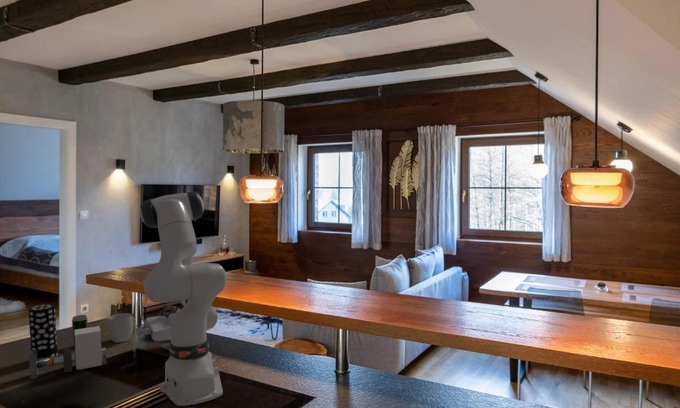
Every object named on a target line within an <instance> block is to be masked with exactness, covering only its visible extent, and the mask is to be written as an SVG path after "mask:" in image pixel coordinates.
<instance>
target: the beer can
mask: <svg viewBox="0 0 680 408" xmlns="http://www.w3.org/2000/svg"><path fill="white" fill-rule="evenodd" d="M71 325H72V326H71V328H72V329H71V330H72V344H73V347H74V348H75V331H74V330H77V329H83V328H89V327H88V326H89V325H88V317H87V315H86V314H80V315H79V314H78V315H75V316H72V319H71Z"/></svg>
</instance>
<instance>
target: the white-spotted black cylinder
mask: <svg viewBox="0 0 680 408" xmlns="http://www.w3.org/2000/svg"><path fill="white" fill-rule="evenodd" d="M27 312H28V322H29V325H28V328H29V341H30V350H35V349H37V358H38V360H39V359H44V358H49V357H51V356H53V357H56V356H59V355H58V353H59V352H58V338H57V337H58V336H57V335H58V334H57V318H56V317H57V316H56V305H55V304H54V303H44V304H38V305H33V306H31V307H29V308H28V311H27Z"/></svg>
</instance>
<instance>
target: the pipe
mask: <svg viewBox="0 0 680 408" xmlns="http://www.w3.org/2000/svg"><path fill="white" fill-rule="evenodd" d="M101 352H102V366H103V365H104V366H105V365H107V362H108V361H107V348H106V347H101ZM71 357H72V363H76V352H74V353H72V352H71ZM28 359H29V360H28V363H29V377H30V378H29V379H32V380H36V379H35V378H37V379H38V378H39V369H43V368H52V367H54V366H60V365H61V366H62V365H64V359H63V354H62V355H58V356H56V357H53V356H51V357H49V358H44V359H39V360H38V358H37V349H35V350H31V349H30V350H29V354H28Z"/></svg>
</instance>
